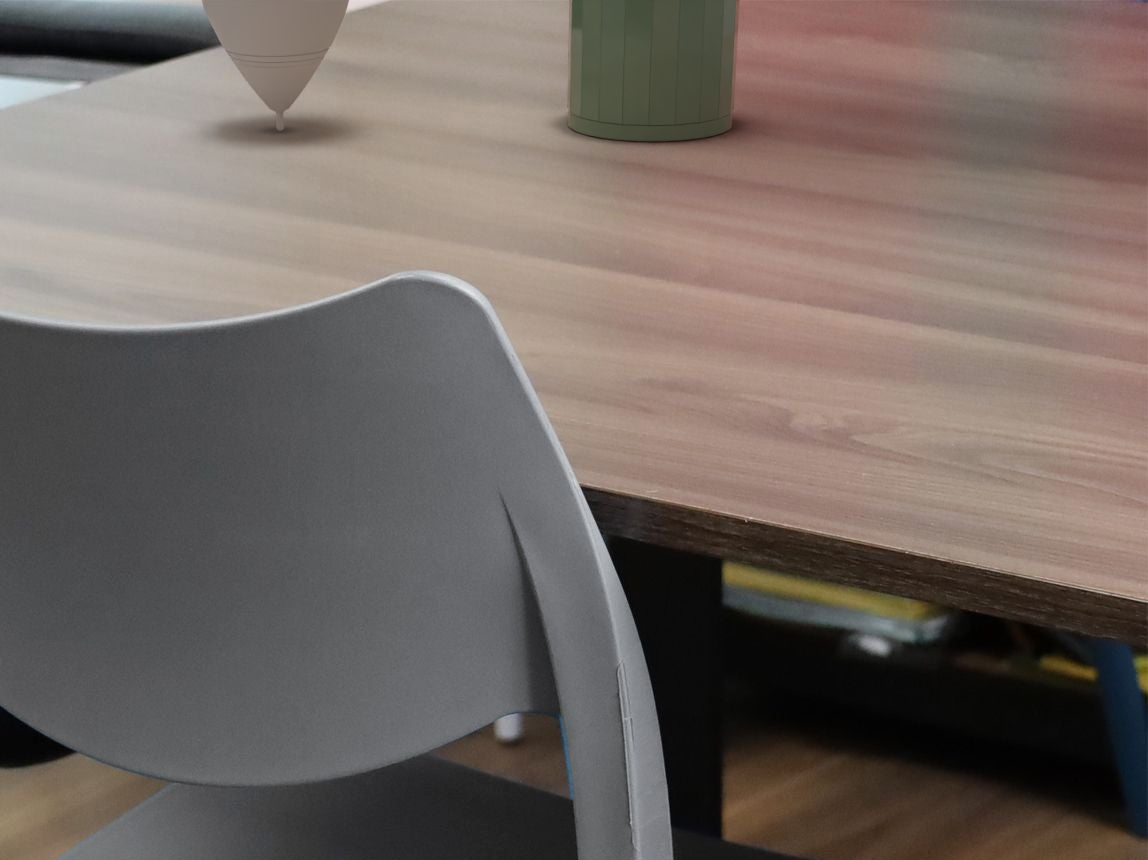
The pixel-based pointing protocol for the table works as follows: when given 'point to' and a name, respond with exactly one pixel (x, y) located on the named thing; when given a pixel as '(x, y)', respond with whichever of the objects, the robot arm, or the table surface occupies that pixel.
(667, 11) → the green cylinder
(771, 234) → the table surface
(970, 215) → the table surface
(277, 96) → the spinning top
